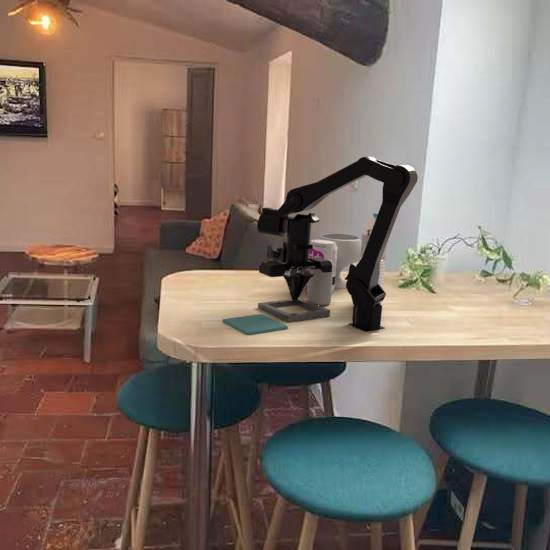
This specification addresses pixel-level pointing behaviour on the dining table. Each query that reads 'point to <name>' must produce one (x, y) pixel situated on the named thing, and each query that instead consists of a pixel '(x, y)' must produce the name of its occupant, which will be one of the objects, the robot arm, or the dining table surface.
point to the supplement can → (324, 254)
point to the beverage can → (320, 287)
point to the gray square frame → (314, 313)
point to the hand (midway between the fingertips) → (294, 300)
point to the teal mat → (255, 324)
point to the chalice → (344, 253)
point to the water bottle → (365, 237)
